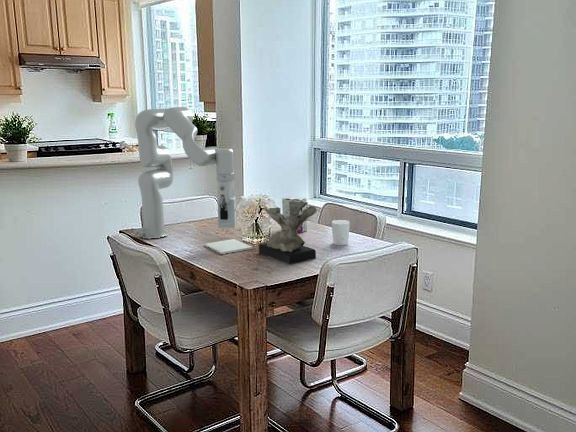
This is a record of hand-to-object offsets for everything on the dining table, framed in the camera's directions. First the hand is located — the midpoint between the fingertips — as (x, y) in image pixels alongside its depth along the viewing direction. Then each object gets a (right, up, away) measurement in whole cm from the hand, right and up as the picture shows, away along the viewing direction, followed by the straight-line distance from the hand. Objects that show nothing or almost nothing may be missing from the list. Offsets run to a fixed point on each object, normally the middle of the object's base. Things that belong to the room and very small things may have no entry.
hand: (227, 217), depth 248 cm
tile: (0, -13, +3) cm, 14 cm away
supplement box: (0, -4, +1) cm, 4 cm away
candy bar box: (+30, -7, +32) cm, 44 cm away
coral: (+28, -16, -7) cm, 32 cm away
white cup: (+50, -12, +7) cm, 52 cm away
